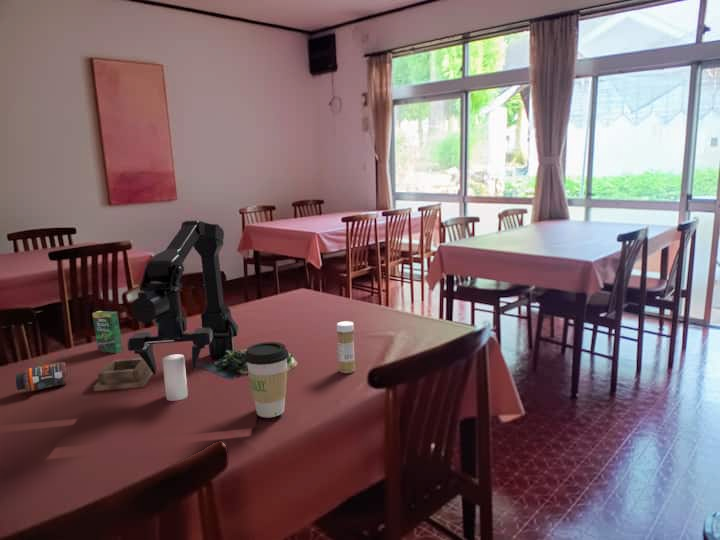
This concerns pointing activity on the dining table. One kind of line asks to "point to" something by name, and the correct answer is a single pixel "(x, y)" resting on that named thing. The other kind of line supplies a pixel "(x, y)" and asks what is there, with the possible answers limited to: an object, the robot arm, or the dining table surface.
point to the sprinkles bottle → (346, 347)
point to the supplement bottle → (42, 377)
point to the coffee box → (107, 331)
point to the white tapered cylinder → (175, 377)
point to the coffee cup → (268, 377)
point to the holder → (123, 374)
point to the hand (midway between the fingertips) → (174, 372)
